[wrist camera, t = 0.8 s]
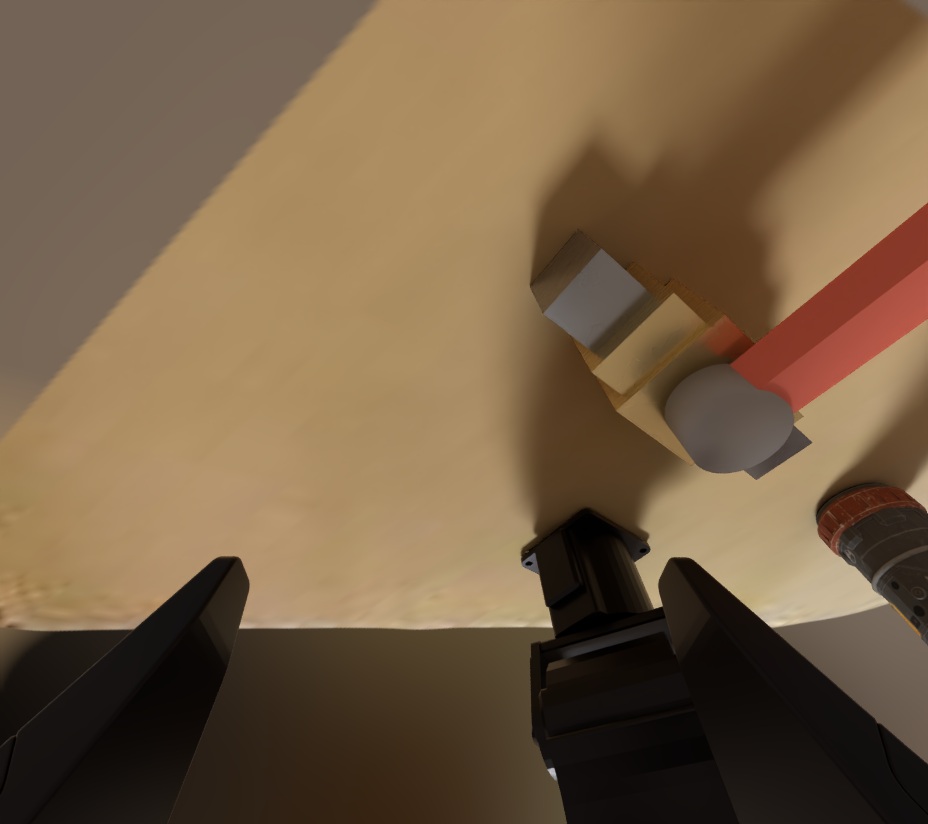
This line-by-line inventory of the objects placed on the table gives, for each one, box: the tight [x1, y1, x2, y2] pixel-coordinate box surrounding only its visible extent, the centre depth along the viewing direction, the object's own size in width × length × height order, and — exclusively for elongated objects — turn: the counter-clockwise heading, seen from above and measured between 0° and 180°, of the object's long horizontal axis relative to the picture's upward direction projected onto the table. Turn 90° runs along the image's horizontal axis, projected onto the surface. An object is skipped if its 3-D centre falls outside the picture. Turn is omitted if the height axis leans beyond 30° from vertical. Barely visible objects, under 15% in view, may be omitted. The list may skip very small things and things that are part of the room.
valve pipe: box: [530, 229, 812, 480], centre depth 19 cm, size 15×5×4 cm, turn 53°
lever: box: [664, 203, 928, 473], centre depth 15 cm, size 11×4×2 cm, turn 143°
